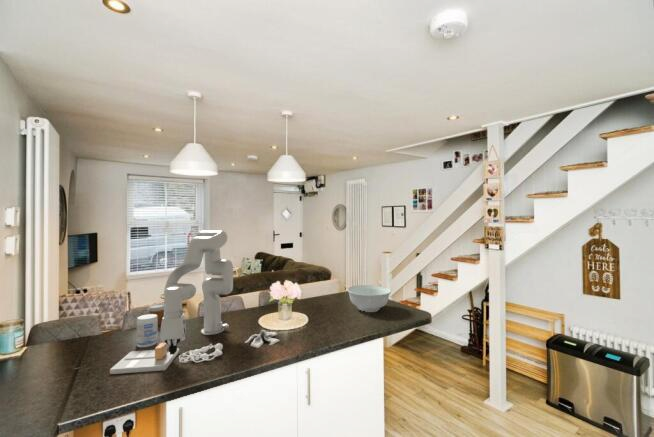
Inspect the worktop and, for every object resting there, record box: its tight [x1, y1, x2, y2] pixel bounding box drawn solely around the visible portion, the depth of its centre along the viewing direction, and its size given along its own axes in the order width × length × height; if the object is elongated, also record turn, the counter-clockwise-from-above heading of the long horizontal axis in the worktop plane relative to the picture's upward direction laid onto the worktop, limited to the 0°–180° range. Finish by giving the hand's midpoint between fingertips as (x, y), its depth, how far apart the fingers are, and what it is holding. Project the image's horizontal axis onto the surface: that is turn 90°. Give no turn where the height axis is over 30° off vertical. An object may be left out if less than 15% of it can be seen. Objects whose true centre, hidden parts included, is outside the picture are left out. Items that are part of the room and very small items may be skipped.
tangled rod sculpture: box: [178, 342, 224, 364], centre depth 143 cm, size 19×14×4 cm
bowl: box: [346, 284, 392, 313], centre depth 220 cm, size 32×32×15 cm
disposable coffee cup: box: [147, 303, 164, 327], centre depth 188 cm, size 10×10×12 cm
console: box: [109, 346, 180, 375], centre depth 138 cm, size 22×18×4 cm
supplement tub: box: [136, 313, 159, 348], centre depth 158 cm, size 10×10×15 cm
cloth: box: [244, 329, 280, 349], centre depth 163 cm, size 22×19×6 cm
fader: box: [154, 342, 168, 359], centre depth 139 cm, size 3×6×5 cm, turn 9°
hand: (173, 353), depth 140 cm, fingers closed
